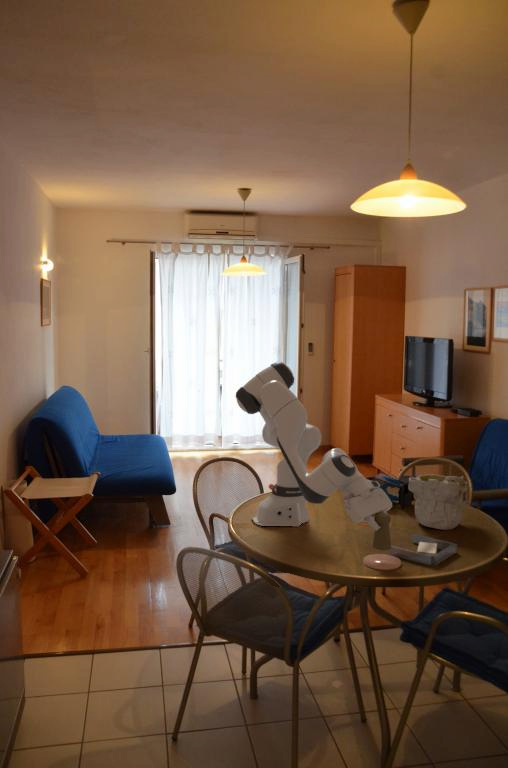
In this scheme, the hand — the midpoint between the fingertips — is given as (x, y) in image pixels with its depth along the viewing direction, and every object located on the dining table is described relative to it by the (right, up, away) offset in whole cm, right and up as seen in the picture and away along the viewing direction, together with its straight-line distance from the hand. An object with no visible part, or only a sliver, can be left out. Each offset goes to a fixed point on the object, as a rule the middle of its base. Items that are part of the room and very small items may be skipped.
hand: (383, 527), depth 210 cm
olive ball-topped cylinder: (0, -7, +1) cm, 7 cm away
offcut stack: (+16, -12, +9) cm, 22 cm away
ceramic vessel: (+30, -8, +43) cm, 53 cm away
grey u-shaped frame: (+15, -11, +10) cm, 22 cm away
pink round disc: (0, -12, +2) cm, 12 cm away
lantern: (+14, -6, +70) cm, 72 cm away
